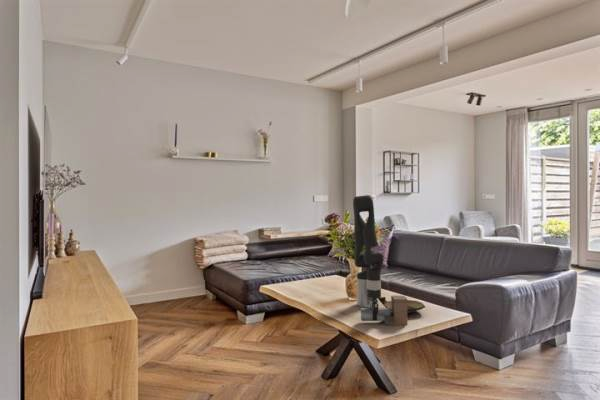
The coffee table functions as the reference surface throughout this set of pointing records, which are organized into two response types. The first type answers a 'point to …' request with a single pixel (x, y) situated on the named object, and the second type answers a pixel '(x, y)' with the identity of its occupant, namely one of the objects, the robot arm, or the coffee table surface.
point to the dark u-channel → (397, 311)
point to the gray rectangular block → (368, 315)
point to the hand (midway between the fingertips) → (374, 319)
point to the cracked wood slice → (411, 304)
